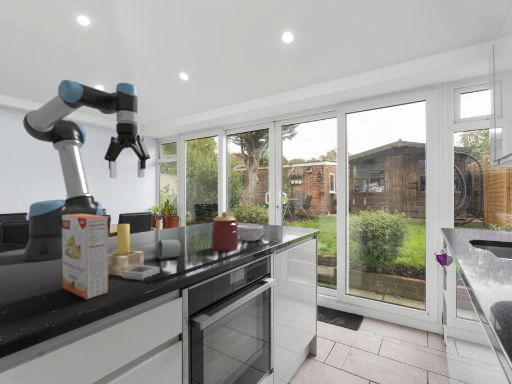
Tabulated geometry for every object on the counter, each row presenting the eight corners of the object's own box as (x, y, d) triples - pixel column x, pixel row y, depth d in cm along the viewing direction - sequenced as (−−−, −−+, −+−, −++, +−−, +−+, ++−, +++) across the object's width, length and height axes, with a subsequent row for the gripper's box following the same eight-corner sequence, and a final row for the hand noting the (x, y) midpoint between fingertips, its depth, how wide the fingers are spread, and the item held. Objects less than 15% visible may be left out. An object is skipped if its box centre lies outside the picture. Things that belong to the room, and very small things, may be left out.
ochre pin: (114, 272, 91) (114, 224, 91) (123, 269, 94) (123, 223, 94) (123, 273, 90) (123, 225, 90) (132, 270, 93) (132, 224, 93)
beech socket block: (102, 273, 89) (102, 255, 89) (123, 266, 98) (123, 249, 98) (124, 276, 87) (124, 257, 87) (143, 268, 95) (143, 251, 95)
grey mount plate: (121, 277, 85) (121, 271, 85) (139, 270, 93) (139, 264, 93) (142, 280, 83) (142, 273, 83) (159, 272, 90) (159, 266, 90)
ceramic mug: (182, 258, 110) (182, 239, 110) (162, 261, 105) (161, 241, 106) (174, 253, 119) (173, 236, 119) (154, 256, 114) (154, 238, 114)
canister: (236, 251, 122) (237, 213, 122) (208, 251, 122) (208, 212, 122) (239, 245, 135) (239, 210, 135) (213, 245, 135) (213, 210, 135)
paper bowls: (268, 240, 150) (268, 226, 150) (244, 243, 142) (244, 228, 142) (254, 236, 163) (254, 223, 163) (232, 238, 155) (232, 225, 155)
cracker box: (60, 289, 75) (60, 214, 75) (84, 283, 80) (84, 213, 80) (84, 301, 67) (84, 217, 67) (109, 293, 72) (109, 215, 72)
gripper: (94, 124, 107) (94, 177, 107) (146, 119, 99) (146, 176, 99) (109, 128, 114) (109, 178, 114) (159, 124, 106) (159, 177, 106)
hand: (126, 177), depth 107 cm, fingers open, 13 cm apart
